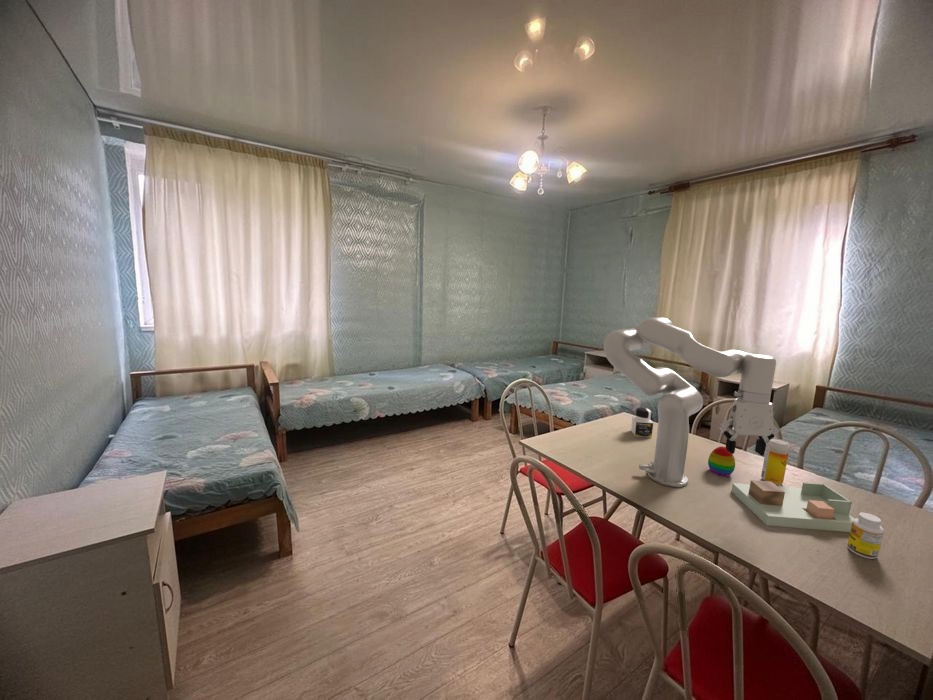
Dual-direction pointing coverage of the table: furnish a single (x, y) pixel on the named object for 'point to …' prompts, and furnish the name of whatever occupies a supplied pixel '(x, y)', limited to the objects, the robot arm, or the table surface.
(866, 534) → the supplement bottle
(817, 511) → the terracotta block
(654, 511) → the table surface
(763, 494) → the walnut block
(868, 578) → the table surface
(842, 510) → the board
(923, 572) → the table surface
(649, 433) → the medicine bottle
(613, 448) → the table surface
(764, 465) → the pill bottle
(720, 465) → the decorative egg
